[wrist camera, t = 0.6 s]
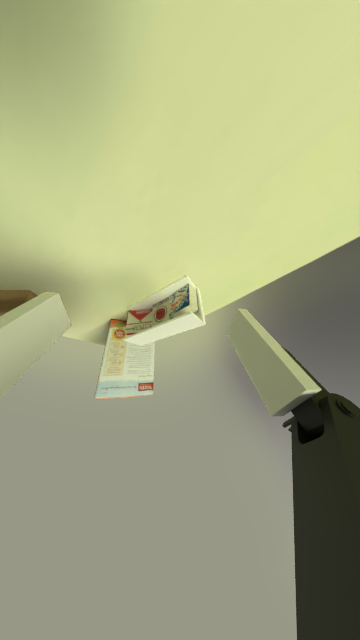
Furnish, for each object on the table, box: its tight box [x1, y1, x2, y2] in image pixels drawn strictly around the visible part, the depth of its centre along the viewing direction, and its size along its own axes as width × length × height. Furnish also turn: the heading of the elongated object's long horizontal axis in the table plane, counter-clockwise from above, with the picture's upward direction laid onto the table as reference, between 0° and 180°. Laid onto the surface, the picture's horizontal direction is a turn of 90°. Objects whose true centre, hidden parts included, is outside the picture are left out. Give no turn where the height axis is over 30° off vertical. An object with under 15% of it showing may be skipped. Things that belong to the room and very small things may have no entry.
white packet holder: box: [123, 275, 206, 346], centre depth 31 cm, size 20×6×9 cm, turn 124°
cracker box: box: [94, 319, 155, 399], centre depth 40 cm, size 14×6×21 cm, turn 60°
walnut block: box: [0, 290, 37, 316], centre depth 31 cm, size 12×12×6 cm
